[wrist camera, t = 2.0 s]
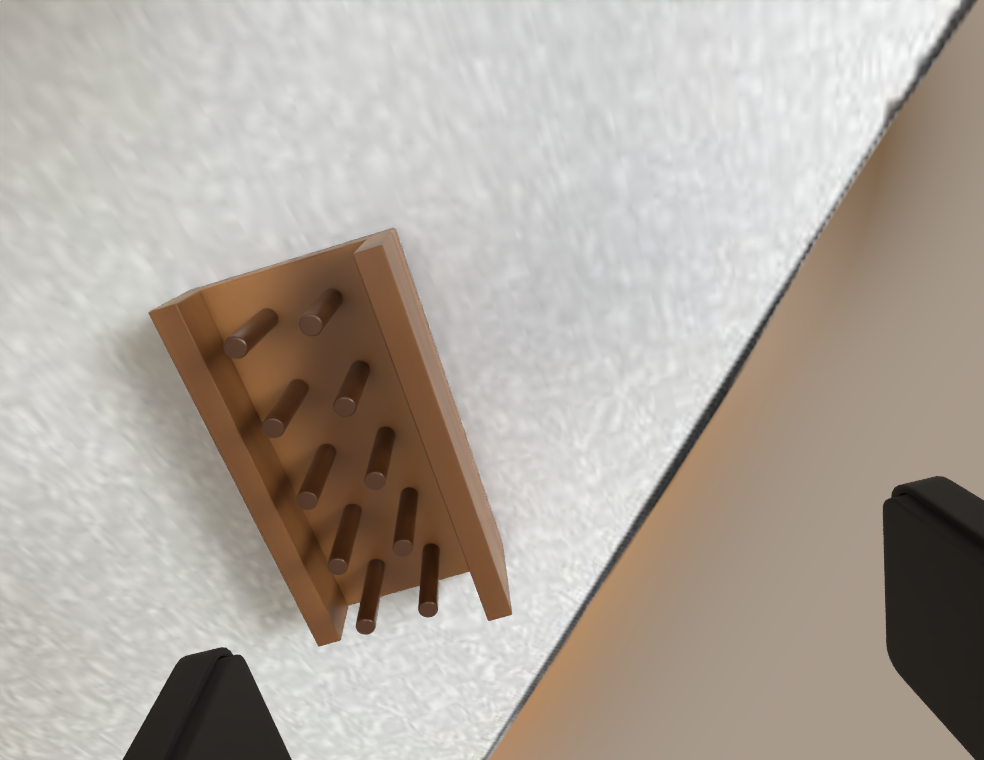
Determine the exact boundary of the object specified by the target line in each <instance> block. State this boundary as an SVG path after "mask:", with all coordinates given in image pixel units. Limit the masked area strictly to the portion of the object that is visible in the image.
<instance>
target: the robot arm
mask: <svg viewBox="0 0 984 760" xmlns="http://www.w3.org/2000/svg"><path fill="white" fill-rule="evenodd" d="M883 532H884V533H883V535H884V571H885V604H886V605H885V606H886V607H885V608H886V643H887V651H888V654H889V658H890V660H891V662H892V664H893V666H894V667H895V669H896V671H897V672H898V673H899V675H900V676H901V677H902V678H903V679H904V681H906V683H907V684H908V685H909V686H910V687H911V688H912V689H913V691H914V692H915V693H916V694H917V695H918V696H919V697H920V698H921V700H922V701H923V702H924V703H925V704H926V705H927V706H928V707H929V708H930V710H931V711H932V712H933V713H934V714H935V715H936V716H937V717H938V719H939V720H940V721H941V722H942V723H943V724H944V725H945V726H946V728H947V729H948V730H949V731H950V732H951V733H952V734H953V735H954V736H955V737H956V739H957V740H958V741H959V742H960V743H961V744H962V745H963V746H964V748H965V749H966V750H967V751H968V752H969V753H970V754H971V755H972V757H973V758H974V759H975V760H984V500H982V499H981V498H979V497H977V496H976V495H974V494H972V493H971V492H969V491H967V490H966V489H964V488H963V487H961V486H959V485H958V484H956V483H954V482H953V481H951V480H949V479H947V478H945V477H941V476H936V477H931V478H927V479H923V480H919V481H915V482H910V483H906V484H902V485H898V486H897V487H895V488H894V490H893V492H892V497H891V498H890V499H887V500H886V501H885V502H884V504H883ZM123 760H292V759H291V757H290V755H289V753H288V751H287V749H286V747H285V744H284V742H283V740H282V738H281V736H280V734H279V732H278V729H277V727H276V725H275V723H274V721H273V719H272V717H271V714H270V712H269V710H268V708H267V706H266V704H265V702H264V699H263V697H262V695H261V693H260V691H259V689H258V687H257V684H256V682H255V680H254V678H253V676H252V674H251V672H250V669H249V667H248V665H247V663H246V661H245V659H244V658H243V657H242V656H241V655H233V654H232V653H231V651H230V650H228V649H227V648H223V647H221V648H217V649H212V650H208V651H204V652H200V653H196V654H191V655H187V656H184V657H183V658H181V659H180V660H179V661H178V663H177V664H176V665H175V667H174V669H173V671H172V673H171V674H170V676H169V678H168V680H167V681H166V683H165V685H164V687H163V689H162V690H161V692H160V694H159V696H158V698H157V699H156V701H155V703H154V705H153V706H152V708H151V710H150V712H149V714H148V715H147V717H146V719H145V721H144V723H143V724H142V726H141V728H140V730H139V731H138V733H137V735H136V737H135V739H134V740H133V742H132V744H131V746H130V748H129V749H128V751H127V753H126V755H125V756H124V758H123Z"/></svg>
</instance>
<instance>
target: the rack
mask: <svg viewBox="0 0 984 760" xmlns="http://www.w3.org/2000/svg"><path fill="white" fill-rule="evenodd" d="M149 315H150V317H151V319H152V321H153V323H154V325H155V326H156V328H157V330H158V332H159V334H160V336H161V338H162V340H163V342H164V344H165V346H166V348H167V350H168V352H169V354H170V356H171V358H172V360H173V362H174V364H175V366H176V368H177V370H178V372H179V374H180V376H181V378H182V379H183V381H184V383H185V385H186V387H187V389H188V391H189V393H190V395H191V397H192V399H193V401H194V403H195V405H196V407H197V409H198V411H199V413H200V415H201V417H202V419H203V421H204V423H205V425H206V427H207V429H208V431H209V432H210V434H211V436H212V438H213V440H214V442H215V444H216V446H217V448H218V450H219V452H220V454H221V456H222V458H223V460H224V462H225V464H226V466H227V468H228V470H229V472H230V474H231V476H232V478H233V480H234V482H235V484H236V486H237V487H238V489H239V491H240V493H241V495H242V497H243V499H244V501H245V503H246V505H247V507H248V509H249V511H250V513H251V515H252V517H253V519H254V521H255V523H256V525H257V527H258V529H259V531H260V533H261V535H262V537H263V539H264V540H265V542H266V544H267V546H268V548H269V550H270V552H271V554H272V556H273V558H274V560H275V562H276V564H277V566H278V568H279V570H280V572H281V574H282V576H283V578H284V580H285V582H286V584H287V586H288V588H289V590H290V592H291V593H292V595H293V597H294V599H295V601H296V603H297V605H298V607H299V609H300V611H301V613H302V615H303V617H304V619H305V621H306V623H307V625H308V627H309V629H310V631H311V633H312V635H313V637H314V639H315V641H316V643H317V645H318V646H323V645H326V644H330V643H333V642H337V641H340V640H341V637H342V632H343V628H344V623H345V619H346V614H347V610H348V606H349V605H352V604H356V603H359V602H360V607H359V612H358V617H357V622H356V629H357V631H358V632H359V633H361V634H365V635H367V634H370V633H372V632H373V631H374V630H375V628H376V621H377V615H378V609H379V602H380V597H381V596H384V595H388V594H391V593H395V592H398V591H402V590H405V589H409V588H413V587H416V586H420V591H419V605H418V611H419V613H420V614H421V615H422V616H424V617H432V616H434V615H435V614H436V613H437V611H438V593H439V580H441V579H445V578H448V577H452V576H455V575H459V574H462V573H466V572H469V571H470V573H471V576H472V579H473V581H474V584H475V587H476V589H477V592H478V595H479V597H480V600H481V603H482V606H483V608H484V611H485V614H486V616H487V619H488V621H491V620H495V619H498V618H502V617H505V616H509V615H512V609H511V601H510V594H509V586H508V578H507V571H506V563H505V556H504V549H503V543H502V540H501V538H500V535H499V532H498V529H497V526H496V523H495V520H494V517H493V514H492V511H491V508H490V505H489V502H488V499H487V496H486V493H485V490H484V488H483V485H482V482H481V479H480V476H479V473H478V470H477V467H476V464H475V461H474V458H473V455H472V452H471V449H470V446H469V443H468V440H467V438H466V435H465V432H464V429H463V426H462V423H461V420H460V417H459V414H458V411H457V408H456V405H455V402H454V399H453V396H452V393H451V390H450V388H449V385H448V382H447V379H446V376H445V373H444V370H443V367H442V364H441V361H440V358H439V355H438V352H437V349H436V346H435V343H434V340H433V338H432V335H431V332H430V329H429V326H428V323H427V320H426V317H425V314H424V311H423V308H422V305H421V302H420V299H419V296H418V293H417V291H416V288H415V285H414V282H413V279H412V276H411V273H410V270H409V267H408V264H407V261H406V258H405V255H404V252H403V249H402V246H401V243H400V241H399V238H398V235H397V232H396V229H395V228H392V229H388V230H385V231H382V232H378V233H375V234H372V235H369V236H365V237H362V238H359V239H356V240H352V241H349V242H346V243H343V244H339V245H336V246H333V247H330V248H326V249H323V250H320V251H317V252H313V253H310V254H307V255H304V256H300V257H297V258H294V259H291V260H287V261H284V262H281V263H278V264H274V265H271V266H268V267H264V268H261V269H258V270H255V271H251V272H248V273H245V274H242V275H238V276H235V277H232V278H229V279H225V280H222V281H219V282H216V283H212V284H209V285H206V286H203V287H199V288H196V289H193V290H190V291H187V292H186V293H184V294H182V295H180V296H178V297H177V298H174V299H172V300H170V301H168V302H166V303H165V304H163V305H161V306H159V307H157V308H155V309H153V310H151V311H150V312H149Z"/></svg>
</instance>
